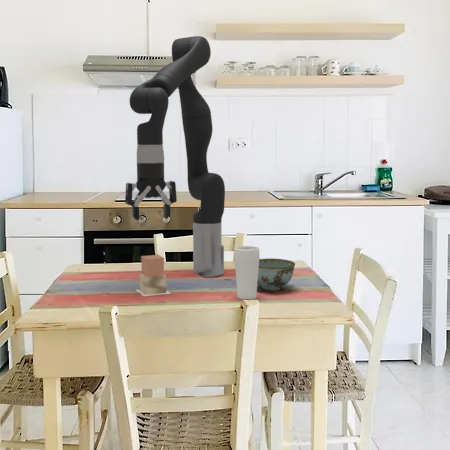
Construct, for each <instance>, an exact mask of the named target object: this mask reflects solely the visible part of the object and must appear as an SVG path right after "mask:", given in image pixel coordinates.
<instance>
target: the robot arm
mask: <svg viewBox="0 0 450 450" xmlns="http://www.w3.org/2000/svg"><path fill="white" fill-rule="evenodd" d="M211 52H212V51H211V45H210V43H209V41H208V39H207V38H206V37H204V36H201V35H195V36H188V37H180V38H176V39H174V41H173V42H172V44H171V59H172V62H170V63H168V64H166V65H165V66H163V67H162V68H161V69H159V71H157V73H155V75H153V77H152V78H150V79H149V80H146V81H144V82H142V83H141V84H139V85H138V86H137V87H135V88H134V89H133V90H132V92H131V93H130V97H129V106H130V108H131V110H132V111H133V112H134V113H136V114H140V115H150V118H149V120H147V121H146V122H142V123H140V124H138V125H137V128H136V142H137V143H136V146H137V148H136V182H135V183H131V182H126V183H125V196H124V197H125V204H126V205H128V206H131V207H132V208H131V209H132V217H133V219H134V220H135V221H140V207H139V205H140V204H141V202H142V201H143V200H145V198H146V199H151V198H154V199H156V198H159V199H160V200H161V201H162V203H163V204H162V205H163V218H164V219H169V217H170V216H171V205H172V204H174V203H177V201H178V200H177V187H176V186H177V185H176V184H177V183H176V182H175V180H174V181H173V180H169V181H165V154H164V146H163V145H164V140H163V139H164V138H163V137H164V136H163V133H164V132H163V130H164V125H165V120H166V115H167V113H168V109H169V97H172V95H173V94H174V93H175V92H176V90H177V89H178V94H179V95H178V96H179V102H180V111H181V119H182V127H183V133H184V134H183V135H184V142H185V151H186V163H187V165H186V167H187V171H186V172H187V188H188V192H189V195H190V196H191V197H192V198H193V199H194V200H197V201H200V204H199V205H200V206H199V209H198V211H196V212H194V213H193V215H192V236H193V237H192V238H193V239H192V252H193V255H192V260H193V261H192V263H193V268H192V269H193V273H194V274H196V275H198V276H200V277H203V278H207V277H208V278H210V277H211V278H212V277H218V276H222V275H225V247H224V245H223V244H222V221H223V220H222V219H223V215H224V213H225V197H226V188H225V187H226V186H225V181H224V179H223V177H222V176H221V175H220V174H218V173H217V172H216V173H215V172H210V171H209V169H208V168H209V167H208V161H207V160H208V159H207V158H208V157H207V155H208V149H209V146H210V142H211V140H212V136H213V119H212V112H211V108H210V106H209V104H208V102H207V101H206V100H205V98H204V97H203V96H202V94H201V93H200V92H199V90H198V89H197V87H196V86H195V84H194V81H193V78H192V75H193V74H195V73H196V72H197V71H198V70H200V69H201V68H203V67H204V66H206V65H207V64H208V63H209V62H210V60H211V59H210V58H211V54H212V53H211ZM165 188H167V189H168V191H169V193H168V195H169V197H168V196H167V194H166V193H165V192H164V190H165ZM135 189H137V191H138V192H137V193H136V196H135V197H134V199H133V192H134V191H135Z"/></svg>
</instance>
